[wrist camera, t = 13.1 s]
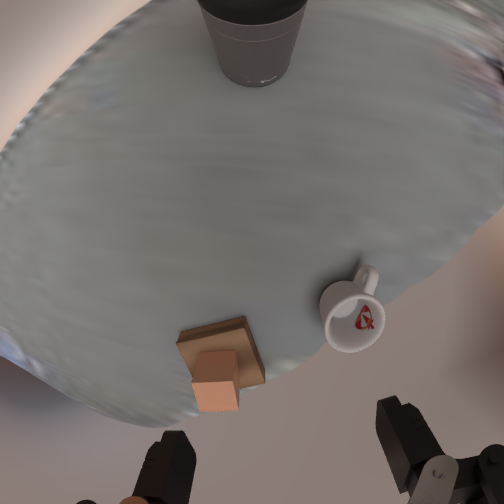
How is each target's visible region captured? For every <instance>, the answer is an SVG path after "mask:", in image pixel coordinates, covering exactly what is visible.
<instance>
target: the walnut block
mask: <svg viewBox="0 0 504 504" xmlns="http://www.w3.org/2000/svg"><path fill="white" fill-rule="evenodd" d="M176 345H177V347H178V349H179V351H180V353H181V355H182V357H183V359H184V361H185V363H186V365H187V367H188V369H189V371H190V373H191V375H192V377H193V375H194V371H195V368H196V364H197V361H198V357H199V353H200V352H213V351H227V350H236V356H237V362H238V368H239V373H240V389H241V388H246V387H251V386H255V385H260V384H264V383H265V369H264V366H263V363H262V361H261V358H260V355H259V353H258V350H257V347H256V344H255V342H254V339H253V336H252V333H251V331H250V328H249V325H248V322H247V320H246V317H245V316H243V317H239V318H235V319H231V320H227V321H223V322H219V323H215V324H211V325H207V326H203V327H199V328H195V329H190V330H186V331H182V332H181V334H180V336H179V338H178V340H177V342H176Z"/></svg>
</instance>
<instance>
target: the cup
mask: <svg viewBox="0 0 504 504" xmlns="http://www.w3.org/2000/svg"><path fill="white" fill-rule="evenodd" d="M367 274H368V278H367V281H366V283H365V284H364V279H365V277H366V275H367ZM378 279H379V274H378V272H377V270H376V269H375V268H374V267H372V266H370V265H363V266H362V267H361V268H360V269H359V270H358V272H357V274H356V276H355V278H354V280H353V281H352V282H350V281H339V282H335V283H333V284H331V285H330V286H329V287H328V288H327V289H326V290H325V291H324V292H323V294H322V296H321V298H320V303H319V309H320V315H321V320H322V325H323V330H324V335H325V338H326V340H327V342H328V343H329V344H330V345H331V346H332V347H333V348H335V349H336V350H339V351H342V352H357V351H360V350H363V349H365V348H367V347H369V346H370V345H371V344H372V343H374V342H375V341H376V340H377V339H378V337H379V336H380V335H381V333H382V331H383V329H384V325H385V318H386V317H385V311H384V308H383V306H382V304H381V303H380V302H379V301H378V300H377V299H376V298H375V297H374V291H375V289H376V286H377V283H378Z"/></svg>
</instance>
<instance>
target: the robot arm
mask: <svg viewBox="0 0 504 504" xmlns="http://www.w3.org/2000/svg"><path fill="white" fill-rule="evenodd" d="M307 1H308V0H198V3H199V5H200V8H201V11H202V14H203V16H204V19H205V22H206V25H207V27H208V30H209V33H210V36H211V39H212V42H213V45H214V48H215V51H216V54H217V57H218V60H219V63H220V66H221V68H222V70H223V72H224V73H225V74H226V76H227V77H228V78H230V79H231V80H232V81H234V82H236V83H238V84H240V85H244V86H249V87H260V86H265V85H269V84H271V83H273V82H275V81H277V80H278V79H279V78H280V77H281V76H282V75H283V74H284V73H285V72H286V70H287V68H288V65H289V61H290V58H291V55H292V52H293V48H294V45H295V42H296V38H297V35H298V31H299V28H300V25H301V21H302V18H303V15H304V11H305V8H306V4H307ZM376 432H377V435H378V438H379V441H380V443H381V445H382V448H383V451H384V453H385V455H386V458H387V461H388V463H389V466H390V468H391V471H392V474H393V476H394V479H395V482H396V484H397V487H398V490H399V492H400V494H401V493H404V492H406V491H408V493H409V495H410V499H409V501H408V504H458V503H460V504H504V446H502V445H499V444H494V445H490V446H488V447H486V448H485V449H484V450H483V451H482V452H481V454H480V455H478V456H474V457H469V458H464V459H454V458H452V457H450V456H447V455H446V454H445V453H444V452H443V451H442V449H441V447H440V445H439V444H438V442H437V440H436V438H435V437H434V435H433V433H432V432H431V430H430V428H429V427H428V425H427V423H426V421H425V420H424V418H423V416H422V415H421V413H420V411H419V409H417V408H416V407H415V406H413V405H412V404H410V403H408V404H404V405H401V403H400V401H399V400H398V398H397V397H396V396H395V395H394V396H391V397H388V398H384V399H381V400H378V402H377V412H376ZM142 467H143V468H142V469H141V471H140V474H139V477H138V480H137V483H136V486H135V489H134V492H133V494H132V496H131V497H128V498H125V499H124V500H122V501H121V502H120V504H188V503H189V498H190V492H191V487H192V482H193V477H194V472H195V467H196V453H195V451H194V449H193V447H192V445H191V444H190V442H189V440H188V438H187V436H186V434H185V433H184V431H182V430H181V431H165V432H164V433H163V436H162V439H161V442H155V443H154V444H153V445H152V446H151V447H150V448H149V449H148V452H147V454H146V457H145V461H144V463H143V466H142ZM77 504H96V503H95V502H93V501H91V500H82V501H80V502H78V503H77Z"/></svg>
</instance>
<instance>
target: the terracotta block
mask: <svg viewBox="0 0 504 504" xmlns="http://www.w3.org/2000/svg"><path fill="white" fill-rule="evenodd" d="M191 383H192V387H193V390H194V393H195V397H196V400H197V403H198V407H199V410H200V411H231V410H239V393H240V373H239V368H238V362H237V356H236V350H227V351H213V352H200V353H199V357H198V361H197V364H196V368H195V371H194V375H193V379H192V382H191Z"/></svg>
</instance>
